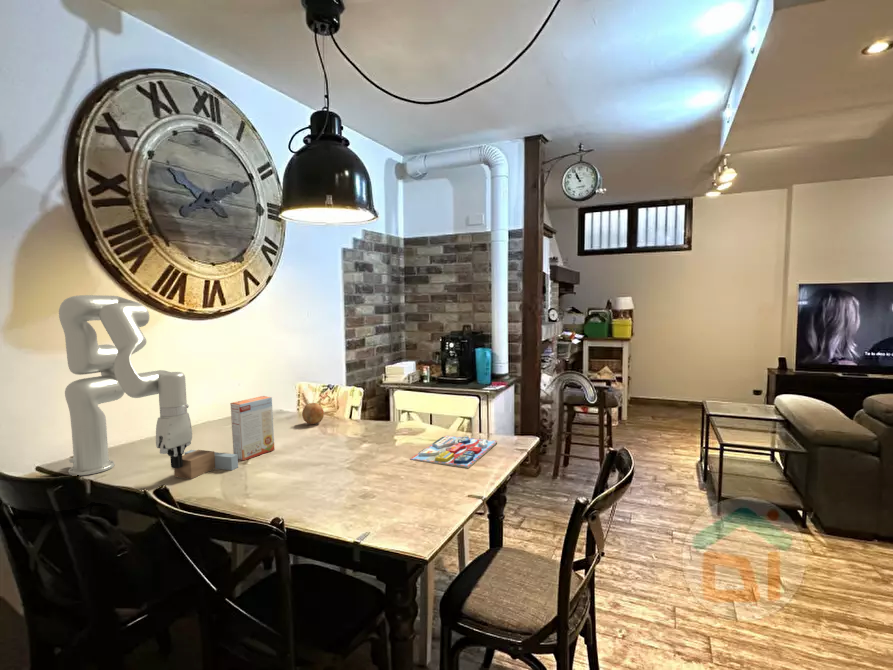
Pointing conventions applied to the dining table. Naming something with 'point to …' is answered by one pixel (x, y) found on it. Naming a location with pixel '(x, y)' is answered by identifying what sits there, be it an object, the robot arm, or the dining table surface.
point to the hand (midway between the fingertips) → (177, 467)
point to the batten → (224, 460)
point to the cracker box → (252, 427)
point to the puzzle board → (455, 451)
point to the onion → (313, 413)
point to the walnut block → (196, 464)
